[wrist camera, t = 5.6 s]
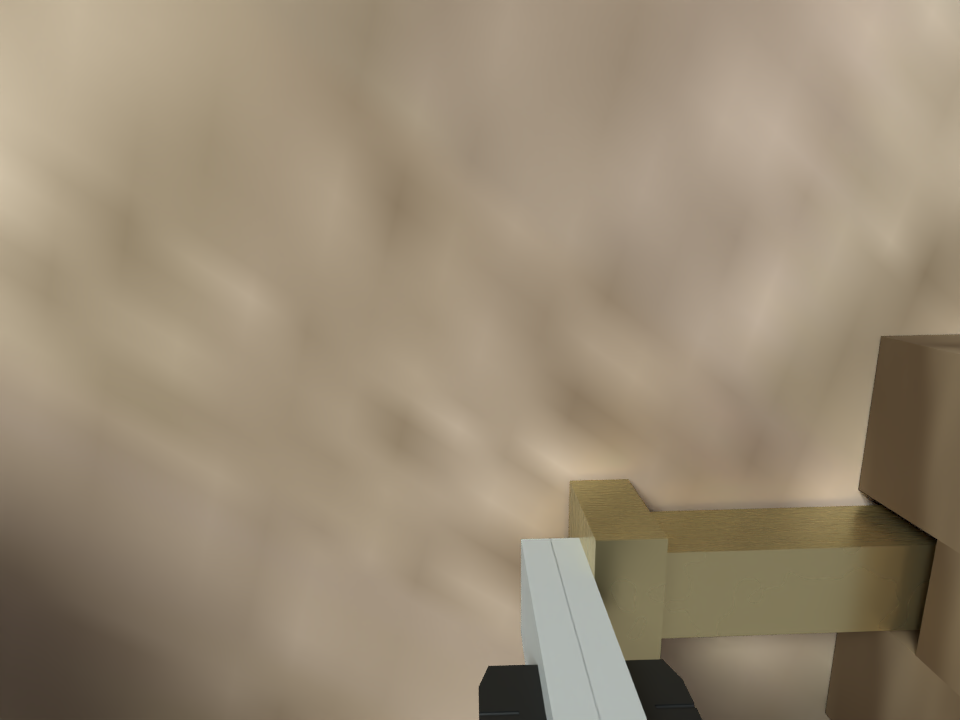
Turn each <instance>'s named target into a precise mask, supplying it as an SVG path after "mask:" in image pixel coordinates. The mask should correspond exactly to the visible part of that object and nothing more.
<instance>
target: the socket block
mask: <svg viewBox="0 0 960 720" xmlns="http://www.w3.org/2000/svg"><path fill="white" fill-rule="evenodd" d="M859 490H860V491H862V492H864V493H865V494H867V495H868V496H870V497H871V498H873V499H875V500H876V501H878V502H879V503H881V504H882V505H884V506H886V507H887V508H889V509H890V510H892V511H893V512H895V513H897V514H898V515H900V516H901V517H903V518H904V519H906V520H908V521H909V522H911V523H912V524H914V525H916V526H917V527H919V528H920V529H922V530H923V531H925V532H927V533H928V534H930V535H931V536H933V537H934V538H936V539H937V544H936V549H935V555H934V560H933V565H932V571H931V576H930V581H929V586H928V592H927V597H926V602H925V608H924V613H923V618H922V624H921V629H920V630H894V631H864V632H837V638H836V645H835V651H834V658H833V665H832V672H831V678H830V685H829V692H828V698H827V705H826V712H825V713H826V714H827V716H828V717H829V718H830V719H831V720H960V335H914V336H881V343H880V350H879V356H878V363H877V370H876V376H875V383H874V390H873V397H872V403H871V410H870V417H869V423H868V430H867V437H866V443H865V450H864V457H863V464H862V470H861V477H860V484H859Z"/></svg>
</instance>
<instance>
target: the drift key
mask: <svg viewBox="0 0 960 720" xmlns="http://www.w3.org/2000/svg"><path fill="white" fill-rule="evenodd" d="M569 538H579V539H580V542H581V544H582V547H583V550H584V552H585V555H586V558H587V560H588V563H589V566H590V568H591V571H592V574H593V576H594V579H595V582H596V584H597V587H598V590H599V592H600V595H601V598H602V600H603V603H604V606H605V608H606V611H607V614H608V617H609V619H610V622H611V625H612V627H613V630H614V633H615V635H616V638H617V641H618V643H619V646H620V649H621V651H622V654H623V657H624V659H625V660H652V659H660V654H661V639H662V638H690V637H719V636H748V635H777V634H806V633H835V632H864V631H894V630H920V629H921V624H922V618H923V613H924V608H925V602H926V597H927V592H928V586H929V581H930V576H931V571H932V565H933V560H934V555H935V549H936V544H937V541H936V540H934V539H933V538H931V537H930V536H928V535H926V534H925V533H923V532H922V531H920V530H919V529H917V528H915V527H914V526H912V525H911V524H909V523H908V522H906V521H904V520H903V519H901V518H900V517H898V516H897V515H895V514H894V513H892V512H890V511H889V510H887V509H886V508H884V507H883V506H881V505H870V506H836V507H801V508H767V509H732V510H698V511H664V512H650V511H649V510H648V508H647V507H646V505H645V504H644V502H643V501H642V499H641V498H640V496H639V495H638V493H637V492H636V491H635V489H634V488H633V486H632V485H631V483H630V482H629V480H628V479H619V480H583V481H570V492H569Z"/></svg>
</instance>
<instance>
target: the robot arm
mask: <svg viewBox="0 0 960 720" xmlns="http://www.w3.org/2000/svg"><path fill="white" fill-rule="evenodd" d="M521 636H522V643H523V651H524V658H525V665H508V666H488V668H487V670H486V673H485V675H484V677H483V679H482V681H481V683H480V686H479V720H702V719H701V717H700V715H699V713H698V710H697V708H695V707H694V702H693V700H692V698H691V696H690V694H689V692H688V690H687V688H686V686H685V684H684V682H683V680H682V679H681V678H680V677H679V676H678V675H677V674H676V673H675V672H674V671H673V670H672V669H671V668H670V667H669V666H668V665H667V664H666V663H665V662H664V661H663V660H662V659H652V660H625V659H624V657H623V654H622V651H621V649H620V646H619V643H618V641H617V638H616V635H615V633H614V630H613V627H612V625H611V622H610V619H609V617H608V614H607V611H606V608H605V606H604V603H603V600H602V598H601V595H600V592H599V590H598V587H597V584H596V582H595V579H594V576H593V574H592V571H591V568H590V566H589V563H588V560H587V558H586V555H585V552H584V550H583V547H582V544H581V542H580V539H579V538H549V539H521Z"/></svg>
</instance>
